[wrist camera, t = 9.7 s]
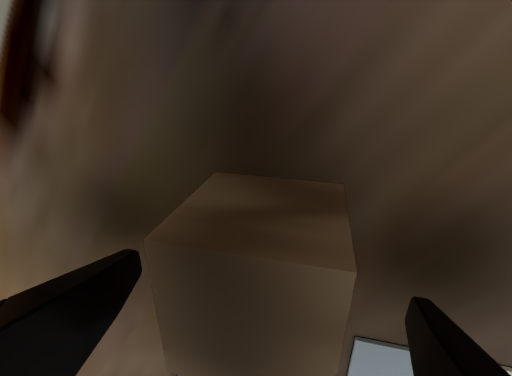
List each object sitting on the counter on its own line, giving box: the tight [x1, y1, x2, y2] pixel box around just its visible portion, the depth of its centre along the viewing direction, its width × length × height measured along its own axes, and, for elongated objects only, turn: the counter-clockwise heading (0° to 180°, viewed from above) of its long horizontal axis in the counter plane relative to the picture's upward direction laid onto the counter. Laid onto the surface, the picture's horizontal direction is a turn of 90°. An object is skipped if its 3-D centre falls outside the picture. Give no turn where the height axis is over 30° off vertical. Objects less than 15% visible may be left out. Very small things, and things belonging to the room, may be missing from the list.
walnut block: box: [143, 172, 357, 376], centre depth 9 cm, size 5×5×5 cm
